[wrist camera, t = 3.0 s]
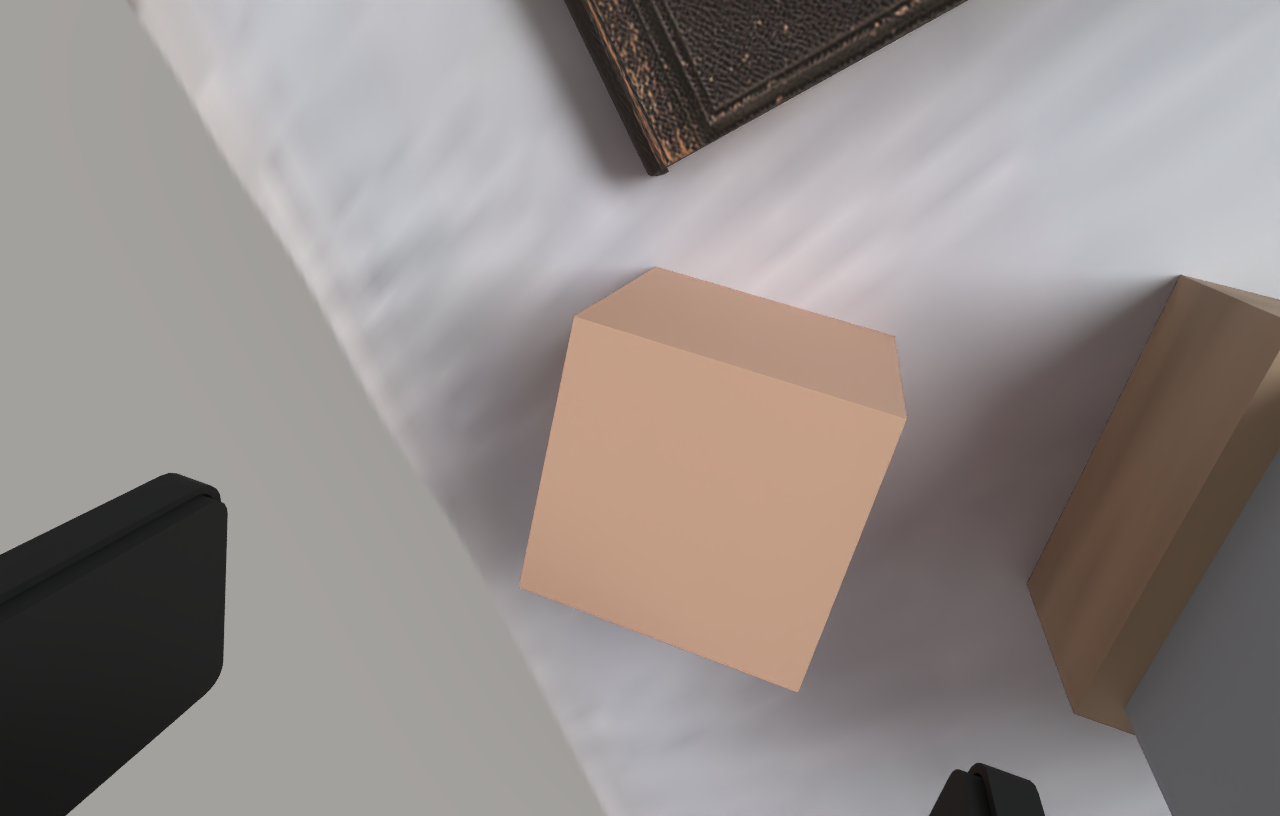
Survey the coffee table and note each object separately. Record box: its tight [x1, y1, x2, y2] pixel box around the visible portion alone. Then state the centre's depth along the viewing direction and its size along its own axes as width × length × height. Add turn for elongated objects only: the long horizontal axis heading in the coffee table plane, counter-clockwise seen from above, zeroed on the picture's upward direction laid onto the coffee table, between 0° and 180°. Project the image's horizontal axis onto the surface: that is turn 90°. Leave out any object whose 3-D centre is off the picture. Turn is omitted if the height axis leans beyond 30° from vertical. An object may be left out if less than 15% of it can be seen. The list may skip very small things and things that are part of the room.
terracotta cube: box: [519, 267, 907, 693], centre depth 17 cm, size 6×6×6 cm
